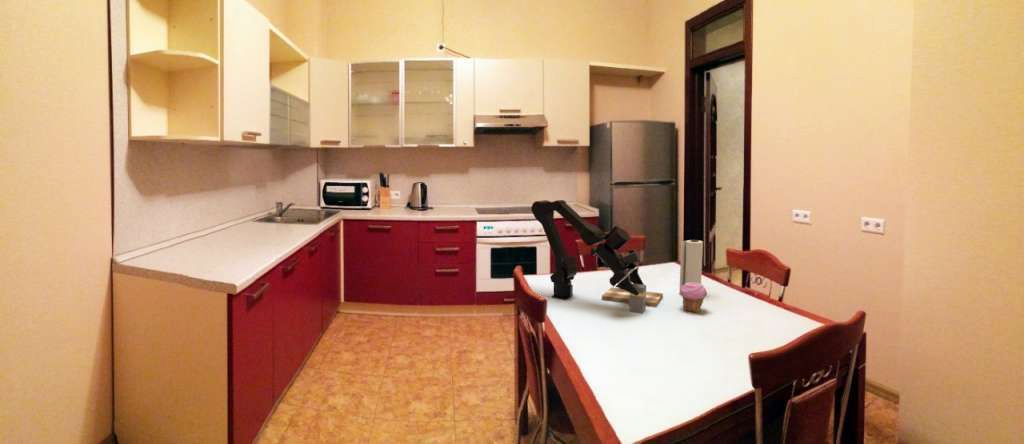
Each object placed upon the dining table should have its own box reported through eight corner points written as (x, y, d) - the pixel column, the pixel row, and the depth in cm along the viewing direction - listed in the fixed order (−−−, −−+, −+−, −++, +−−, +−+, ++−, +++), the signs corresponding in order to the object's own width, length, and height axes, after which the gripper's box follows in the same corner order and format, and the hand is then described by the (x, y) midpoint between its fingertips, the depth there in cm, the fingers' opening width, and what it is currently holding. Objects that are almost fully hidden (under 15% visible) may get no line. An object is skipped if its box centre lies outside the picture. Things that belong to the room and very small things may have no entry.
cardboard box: (601, 299, 173) (601, 295, 173) (611, 290, 184) (611, 287, 184) (655, 307, 164) (656, 303, 163) (662, 297, 175) (662, 293, 175)
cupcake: (674, 310, 160) (676, 282, 159) (685, 304, 166) (686, 277, 165) (700, 316, 154) (701, 287, 153) (710, 309, 160) (711, 282, 159)
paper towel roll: (702, 294, 179) (704, 240, 176) (698, 298, 174) (701, 242, 171) (682, 291, 183) (684, 238, 180) (679, 295, 178) (681, 241, 175)
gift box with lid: (629, 311, 159) (630, 286, 158) (632, 307, 164) (633, 283, 162) (642, 313, 157) (643, 288, 156) (645, 309, 161) (646, 284, 160)
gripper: (619, 247, 151) (652, 283, 147) (633, 238, 167) (663, 271, 164) (596, 268, 156) (627, 304, 152) (611, 258, 172) (640, 289, 168)
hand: (641, 291), depth 159 cm, fingers open, 9 cm apart
